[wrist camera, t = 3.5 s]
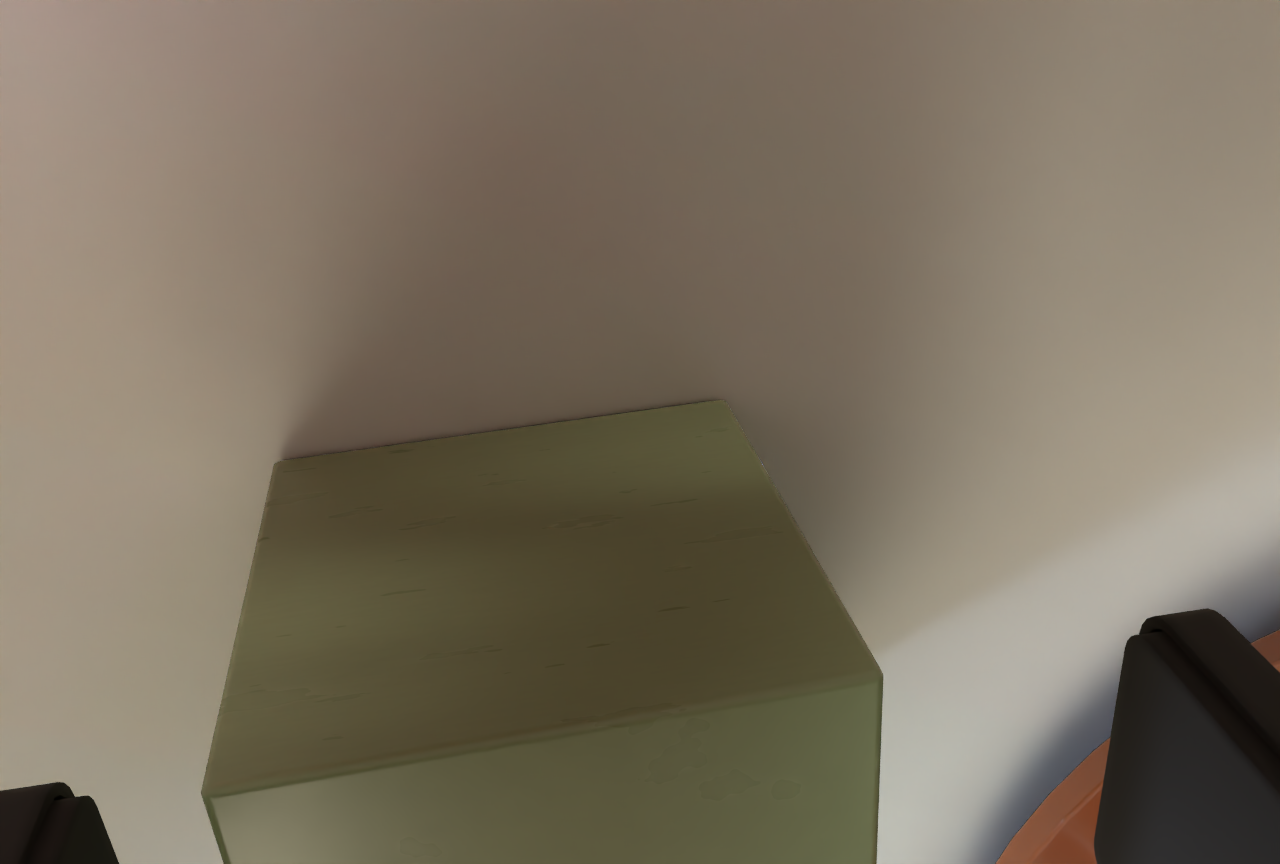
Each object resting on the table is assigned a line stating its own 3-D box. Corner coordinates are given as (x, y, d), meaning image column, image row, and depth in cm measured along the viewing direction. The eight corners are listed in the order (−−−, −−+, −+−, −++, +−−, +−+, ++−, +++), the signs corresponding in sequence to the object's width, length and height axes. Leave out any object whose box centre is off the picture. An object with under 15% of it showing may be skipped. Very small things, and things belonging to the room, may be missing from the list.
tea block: (355, 804, 15) (332, 1211, 10) (273, 459, 12) (196, 793, 8) (738, 736, 15) (871, 1093, 11) (726, 395, 13) (887, 672, 9)
